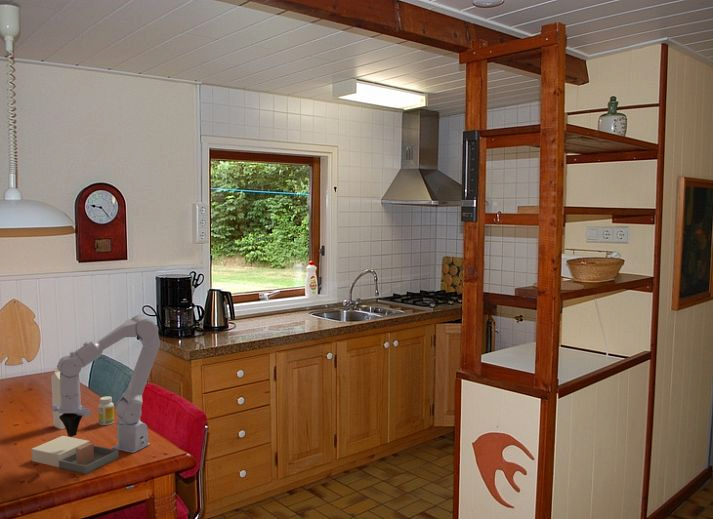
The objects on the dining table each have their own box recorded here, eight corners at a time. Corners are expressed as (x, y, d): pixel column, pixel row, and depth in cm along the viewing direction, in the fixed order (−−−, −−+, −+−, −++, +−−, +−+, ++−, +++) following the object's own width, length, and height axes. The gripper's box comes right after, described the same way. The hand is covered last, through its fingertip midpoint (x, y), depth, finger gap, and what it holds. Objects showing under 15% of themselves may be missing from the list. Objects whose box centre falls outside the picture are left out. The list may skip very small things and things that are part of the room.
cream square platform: (90, 452, 199) (89, 441, 198) (59, 467, 188) (59, 454, 187) (63, 447, 203) (62, 435, 203) (32, 461, 192) (31, 448, 192)
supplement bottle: (96, 425, 223) (95, 400, 222) (101, 420, 228) (100, 395, 227) (111, 425, 223) (111, 400, 223) (116, 420, 229) (115, 395, 228)
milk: (77, 425, 224) (75, 367, 222) (60, 430, 219) (58, 370, 217) (69, 421, 227) (67, 364, 225) (52, 425, 223) (50, 367, 221)
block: (89, 457, 194) (94, 458, 193) (76, 463, 189) (81, 464, 188) (88, 442, 193) (93, 443, 193) (75, 448, 189) (80, 449, 188)
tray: (118, 457, 195) (118, 450, 194) (86, 474, 183) (85, 466, 182) (92, 452, 199) (92, 445, 199) (59, 468, 187) (58, 460, 187)
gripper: (42, 394, 191) (45, 436, 192) (77, 400, 185) (79, 443, 186) (61, 388, 197) (63, 429, 198) (95, 393, 192) (97, 435, 193)
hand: (72, 435), depth 193 cm, fingers closed
